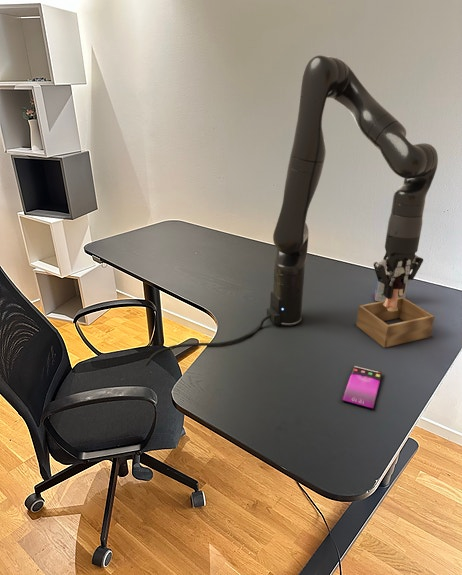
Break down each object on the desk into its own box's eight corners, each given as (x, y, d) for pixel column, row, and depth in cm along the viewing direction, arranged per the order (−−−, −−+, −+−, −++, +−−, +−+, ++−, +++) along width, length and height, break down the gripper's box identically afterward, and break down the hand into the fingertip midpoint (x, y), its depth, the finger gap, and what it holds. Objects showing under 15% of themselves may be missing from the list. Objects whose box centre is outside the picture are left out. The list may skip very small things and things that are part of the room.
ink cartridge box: (402, 297, 155) (409, 258, 149) (405, 304, 150) (412, 264, 144) (373, 294, 157) (379, 257, 151) (375, 301, 152) (381, 262, 146)
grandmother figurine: (376, 303, 117) (382, 258, 111) (389, 301, 117) (395, 256, 112) (393, 316, 110) (400, 270, 104) (406, 314, 111) (414, 268, 105)
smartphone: (381, 374, 114) (382, 371, 114) (372, 410, 102) (373, 407, 102) (353, 367, 117) (353, 365, 117) (341, 401, 105) (341, 398, 104)
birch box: (384, 347, 126) (387, 326, 123) (356, 325, 138) (358, 305, 135) (430, 336, 131) (434, 316, 128) (399, 316, 143) (403, 297, 140)
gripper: (416, 224, 110) (405, 286, 118) (369, 230, 106) (361, 294, 113) (438, 232, 104) (425, 297, 111) (390, 240, 99) (379, 307, 107)
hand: (393, 296), depth 112 cm, fingers closed on grandmother figurine, 3 cm apart
